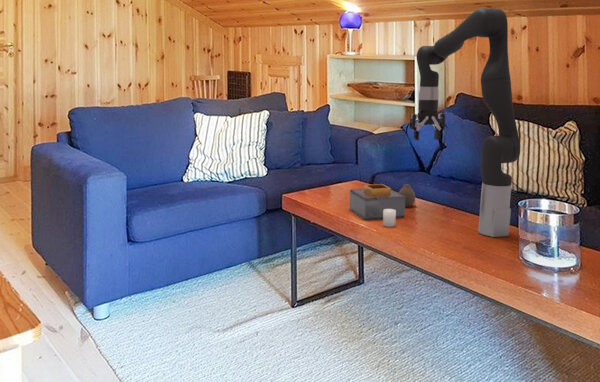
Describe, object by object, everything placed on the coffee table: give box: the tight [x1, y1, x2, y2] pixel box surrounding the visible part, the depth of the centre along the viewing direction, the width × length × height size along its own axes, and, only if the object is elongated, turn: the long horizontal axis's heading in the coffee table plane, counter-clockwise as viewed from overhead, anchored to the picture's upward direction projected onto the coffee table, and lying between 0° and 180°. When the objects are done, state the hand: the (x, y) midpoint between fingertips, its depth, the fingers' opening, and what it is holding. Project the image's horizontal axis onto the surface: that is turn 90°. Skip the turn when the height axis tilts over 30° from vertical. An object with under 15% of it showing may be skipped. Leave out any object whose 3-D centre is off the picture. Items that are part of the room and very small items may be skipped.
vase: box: [398, 183, 416, 208], centre depth 216 cm, size 7×7×9 cm
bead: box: [382, 209, 397, 228], centre depth 191 cm, size 4×4×6 cm
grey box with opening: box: [349, 183, 406, 221], centre depth 207 cm, size 20×16×10 cm
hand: (426, 139), depth 213 cm, fingers open, 8 cm apart
